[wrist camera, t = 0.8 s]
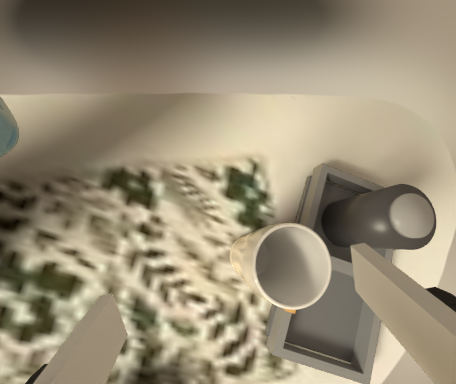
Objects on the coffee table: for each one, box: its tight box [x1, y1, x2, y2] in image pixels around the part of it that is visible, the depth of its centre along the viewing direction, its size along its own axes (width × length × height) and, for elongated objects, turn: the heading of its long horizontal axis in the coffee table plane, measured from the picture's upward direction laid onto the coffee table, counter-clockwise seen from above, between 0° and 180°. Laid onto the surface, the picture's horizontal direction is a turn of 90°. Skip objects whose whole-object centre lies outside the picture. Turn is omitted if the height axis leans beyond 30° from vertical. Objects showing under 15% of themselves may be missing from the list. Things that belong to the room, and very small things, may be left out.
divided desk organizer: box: [265, 164, 436, 384], centre depth 30 cm, size 13×24×13 cm, turn 161°
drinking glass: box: [230, 223, 332, 310], centre depth 27 cm, size 7×7×15 cm
